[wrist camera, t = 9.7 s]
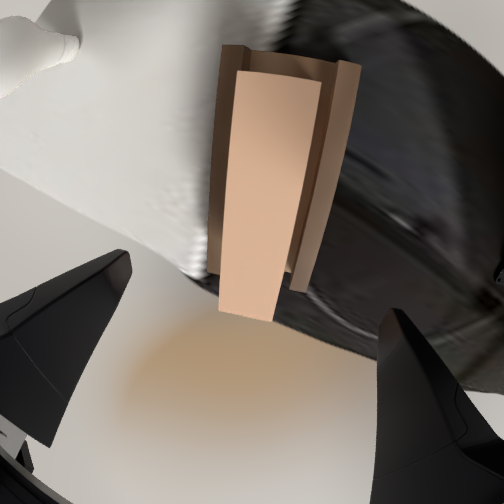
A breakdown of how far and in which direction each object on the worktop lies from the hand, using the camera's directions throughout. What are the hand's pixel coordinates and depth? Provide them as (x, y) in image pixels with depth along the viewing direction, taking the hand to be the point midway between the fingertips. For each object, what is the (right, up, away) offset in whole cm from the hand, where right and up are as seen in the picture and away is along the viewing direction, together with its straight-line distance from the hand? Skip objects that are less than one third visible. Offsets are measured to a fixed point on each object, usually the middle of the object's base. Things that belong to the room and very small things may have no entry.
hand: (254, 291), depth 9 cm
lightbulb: (-15, +18, +6) cm, 24 cm away
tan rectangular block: (+2, +6, +9) cm, 11 cm away
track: (+2, +7, +9) cm, 12 cm away
